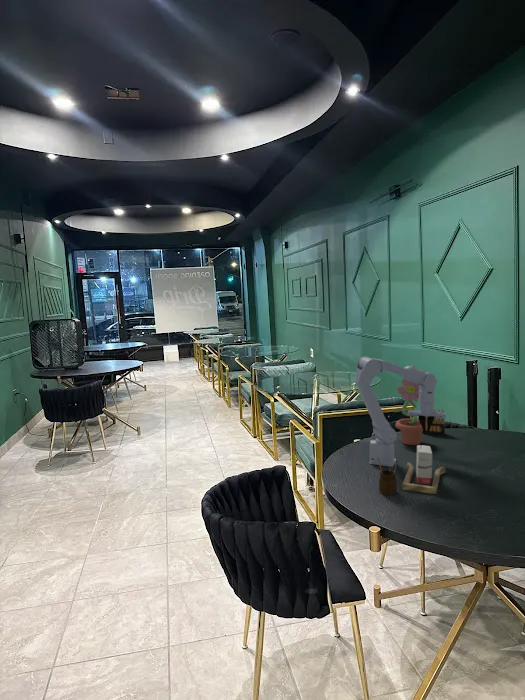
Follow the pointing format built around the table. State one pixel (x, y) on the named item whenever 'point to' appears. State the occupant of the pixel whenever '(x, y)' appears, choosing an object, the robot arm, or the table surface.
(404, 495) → the table surface
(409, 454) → the table surface
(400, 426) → the decorative flower
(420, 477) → the ink box
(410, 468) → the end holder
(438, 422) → the ammunition clip
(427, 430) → the robot arm
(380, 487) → the utensil holder
